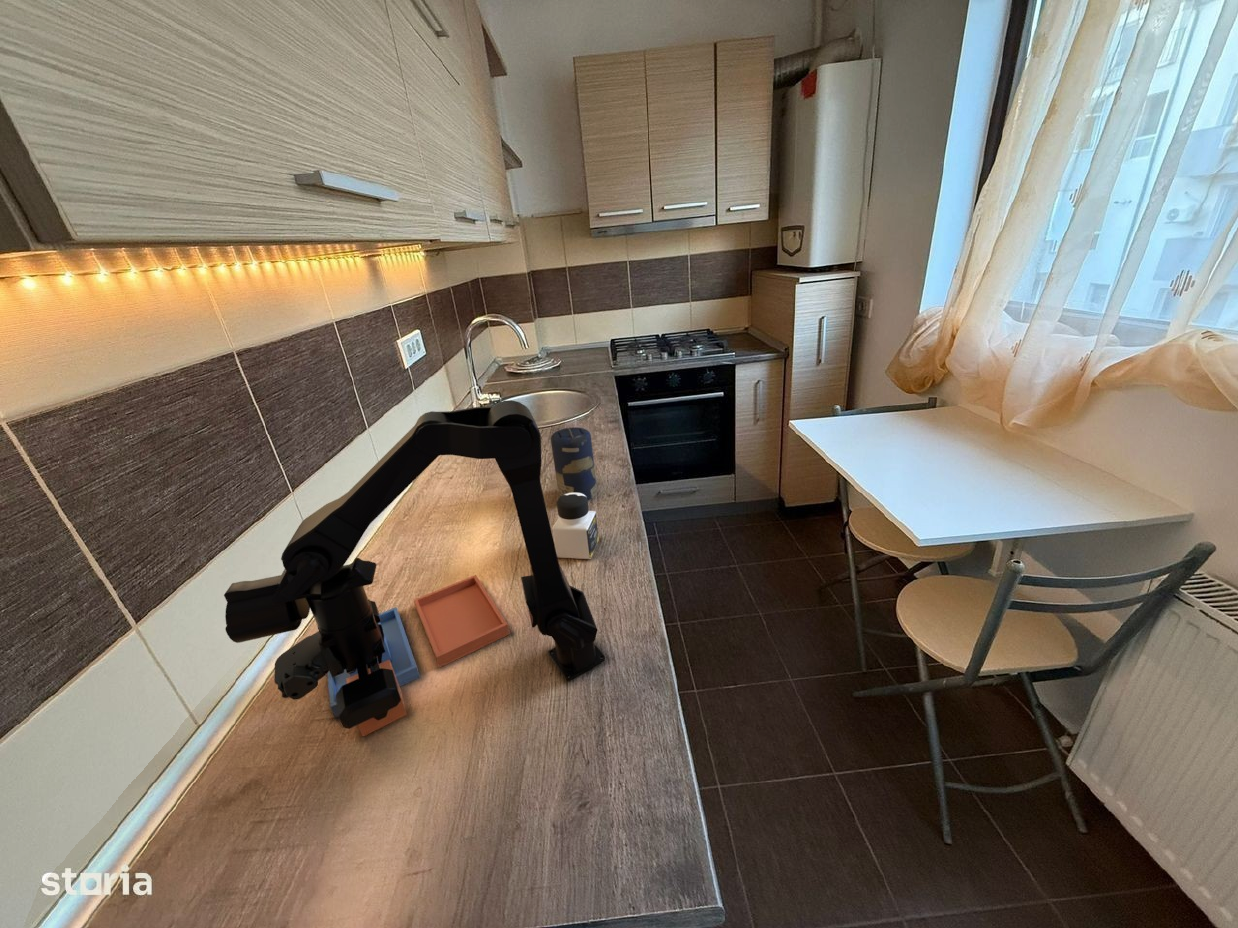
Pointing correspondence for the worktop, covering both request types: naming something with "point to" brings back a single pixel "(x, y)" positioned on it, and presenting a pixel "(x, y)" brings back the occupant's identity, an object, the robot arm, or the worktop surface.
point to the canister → (574, 461)
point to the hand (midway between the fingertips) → (378, 699)
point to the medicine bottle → (575, 527)
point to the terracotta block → (392, 713)
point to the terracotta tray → (460, 619)
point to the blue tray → (398, 650)
